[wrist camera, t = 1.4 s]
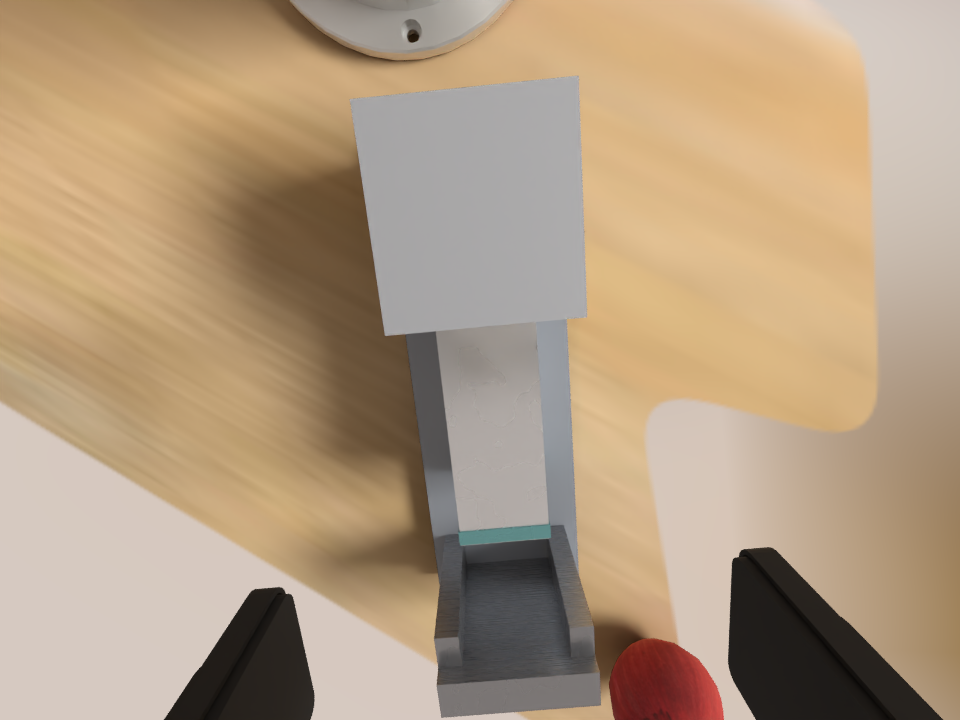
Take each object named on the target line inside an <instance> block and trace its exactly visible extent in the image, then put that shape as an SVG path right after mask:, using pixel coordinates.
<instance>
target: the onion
mask: <svg viewBox="0 0 960 720" xmlns="http://www.w3.org/2000/svg"><path fill="white" fill-rule="evenodd" d="M609 688H610V696H611V703H612V709H613V716H614V718H615V720H724V716H723V708H722V702H721V698H720V695H719V692H718V689H717V686H716V685H715V683H714V681H713V680H712V678H711V676H710V675H709V673H708V671H707V670H706V669H705V667H704V666H703V665H702V663H701V662H700V661H699V659H697V658H696V657H695V656H693V655H692V654H690V653H689V652H687V651H685V650H684V649H683V648H681V647H680V646H678V645H676V644H675V643H671V642H667V641H663V640H659V639H655V638H654V639H641V640H639V641H637V642H634V643H632V644H631V645H630V646H629V647H628V648H626V649H625V650H624V651H623V652H622V654H621V655H620V656H619V657H618V659H617V661H616V663H615V666H614V668H613V670H612V673H611V677H610V681H609Z"/></svg>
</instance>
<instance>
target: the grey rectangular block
mask: <svg viewBox="0 0 960 720" xmlns="http://www.w3.org/2000/svg"><path fill="white" fill-rule="evenodd" d="M436 338H437V347H438V355H439V363H440V372H441V380H442V388H443V397H444V405H445V414H446V422H447V430H448V439H449V447H450V455H451V464H452V472H453V480H454V489H455V497H456V505H457V514H458V522H459V531H458V534H459V542H460V546H465V545H477V544H489V543H501V542H512V541H524V540H536V539H548V538H551V528H550V522H549V518H548V503H547V487H546V472H545V456H544V440H543V425H542V409H541V393H540V378H539V362H538V346H537V331H536V322H530V323H519V324H508V325H498V326H487V327H476V328H465V329H455V330H444V331H436Z"/></svg>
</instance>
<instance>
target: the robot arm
mask: <svg viewBox="0 0 960 720" xmlns="http://www.w3.org/2000/svg"><path fill="white" fill-rule="evenodd" d="M289 1H290V2H291V3H292V4H293V6H294V7H295V8H296V9H297V10H298V11H299V12H300V13H301V14H302V15H303V16H304V17H305V18H306V19H307V20H308V21H310V22H311V23H312V24H313V25H314V26H315V27H316V28H317V29H318V30H319V31H321V32H323V33H324V34H326V35H327V36H329V37H330V38H332V39H334V40H335V41H337V42H338V43H340V44H341V45H343V46H345V47H348V48H350V49H353V50H356V51H358V52H361V53H363V54H366V55H368V56H373V57H379V58H385V59H391V60H413V59H425V58H429V57H432V56H436V55H440V54H443V53H447V52H450V51H452V50H454V49H456V48H458V47H460V46H462V45H463V44H465V43H467V42H469V41H471V40H473V39H474V38H476V37H477V36H478V35H479V34H481V33H482V32H483V31H484V30H486V29H487V28H488V27H489V26H491V25H492V24H493V23H494V22H495V21H496V20H497V19H498V18H499V17H500V16H501V14H502V13H503V12H504V11H505V10H506V8H507V7H508V6H509V5H510V4H511V3H512V1H513V0H289ZM413 33H414V34H417V35H418V36H419V40H418V41H416V42H414V43H410V42H409V41H408V39H409V36H410V35H411V34H413ZM728 664H729V669H730V673H731V676H732V678H733V681H734V683H735V684H736V686H737V688H738V690H739V691H740V693H741V695H742V697H743V698H744V700H745V701H746V703H747V705H748V707H749V708H750V710H751V712H752V714H753V715H754V717H755V719H756V720H943V719H942V718H941V717H940V716H939V715H938V714H937V713H936V712H935V711H934V710H933V709H932V708H931V707H930V706H929V705H928V704H927V703H926V702H925V701H924V700H923V699H922V698H921V697H920V696H919V694H917V693H916V691H915V690H914V689H913V688H912V687H911V686H910V685H909V684H908V683H907V682H906V681H905V680H904V679H903V678H902V677H901V676H900V675H899V674H898V673H897V672H896V671H895V670H894V669H893V668H892V667H891V666H890V665H889V664H888V663H887V662H886V661H885V660H884V659H883V658H882V657H881V656H880V655H879V654H878V652H877V651H876V650H875V649H874V648H873V647H871V645H870V644H869V643H868V642H867V641H866V640H865V639H864V638H863V637H862V636H861V635H860V634H859V633H858V632H857V631H856V630H855V629H854V628H853V627H852V626H851V625H850V624H849V623H848V622H847V621H845V620H844V619H843V618H842V617H840V616H839V615H838V614H837V613H836V612H835V611H834V610H833V609H832V608H831V607H830V606H829V605H828V604H827V603H826V601H825V600H824V599H822V597H821V596H820V595H819V594H818V593H816V591H815V590H814V589H813V588H812V587H811V586H810V585H809V584H808V583H807V582H806V581H805V580H804V579H803V578H802V577H801V576H800V575H799V574H798V573H797V572H796V571H795V570H794V568H792V566H791V565H790V564H789V563H788V562H787V561H786V560H785V559H784V558H783V557H782V556H781V555H780V554H779V553H778V552H777V551H776V550H774V549H773V548H769V547H767V548H754V549H744V550H741V552H740V554H739V557H737V558H734V559H733V561H732V578H731V602H730V628H729V652H728ZM313 708H314V690H313V686H312V681H311V676H310V672H309V667H308V663H307V658H306V654H305V649H304V645H303V640H302V636H301V631H300V627H299V623H298V618H297V613H296V609H295V604H294V600H293V597H292V595H291V594H286V593H285V591H284V590H283V588H280V587H277V588H264V589H255V590H253V591H251V593H250V594H249V595H248V597H247V598H246V600H245V601H244V603H243V604H242V606H241V607H240V609H239V610H238V612H237V613H236V615H235V616H234V618H233V619H232V621H231V623H230V624H229V625H228V627H227V628H226V630H225V632H224V633H223V635H222V636H221V638H220V639H219V641H218V642H217V644H216V645H215V647H214V648H213V650H212V651H211V653H210V654H209V656H208V657H207V659H206V660H205V662H204V663H203V665H202V666H201V667H200V668H199V670H198V671H197V672H196V673H195V674H194V675H193V677H192V678H191V680H190V682H189V683H188V684H187V686H186V687H185V689H184V691H183V692H182V694H181V695H180V696H179V698H178V700H177V701H176V703H175V704H174V706H173V707H172V709H171V710H170V712H169V713H168V715H167V716H166V718H165V719H164V720H310V719H311V716H312V713H313Z"/></svg>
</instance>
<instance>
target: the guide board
mask: <svg viewBox="0 0 960 720" xmlns="http://www.w3.org/2000/svg"><path fill="white" fill-rule="evenodd" d="M350 103H351V110H352V117H353V124H354V130H355V137H356V144H357V151H358V157H359V164H360V171H361V178H362V184H363V191H364V198H365V205H366V211H367V218H368V225H369V232H370V238H371V245H372V252H373V259H374V265H375V272H376V279H377V286H378V292H379V299H380V306H381V313H382V319H383V326H384V333H385V336H390V335H401V334H405V335H406V342H407V349H408V357H409V364H410V371H411V379H412V386H413V393H414V401H415V408H416V415H417V423H418V430H419V437H420V444H421V452H422V459H423V466H424V474H425V481H426V488H427V496H428V503H429V510H430V518H431V525H432V532H433V540H434V547H435V554H436V562H437V569H438V576H439V584H440V580H441V571H442V562H443V553H444V543H445V535H448V534H458V531H459V522H458V514H457V505H456V497H455V489H454V480H453V472H452V464H451V455H450V447H449V439H448V430H447V422H446V414H445V405H444V397H443V388H442V380H441V372H440V363H439V355H438V347H437V338H436V331H444V330H455V329H465V328H476V327H487V326H498V325H508V324H519V323H530V322H536V331H537V346H538V362H539V378H540V393H541V409H542V425H543V440H544V456H545V472H546V487H547V503H548V518H549V522H550V526H555V525H564V527H565V531H566V534H567V537H568V541H569V544H570V548H571V551H572V554H573V558H574V561H575V564H576V568H577V571H578V574H579V570H578V549H577V527H576V506H575V485H574V463H573V442H572V420H571V399H570V378H569V356H568V335H567V319H573V318H584V317H587V298H586V270H585V242H584V213H583V185H582V157H581V129H580V101H579V76H571V77H561V78H551V79H542V80H532V81H522V82H512V83H503V84H493V85H483V86H474V87H464V88H454V89H444V90H435V91H425V92H415V93H406V94H396V95H386V96H376V97H367V98H357V99H350ZM465 552H466V560H467V564H471V563H483V562H495V561H507V560H519V559H531V558H543V557H548V553H547V539H536V540H524V541H512V542H501V543H489V544H477V545H465Z"/></svg>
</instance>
